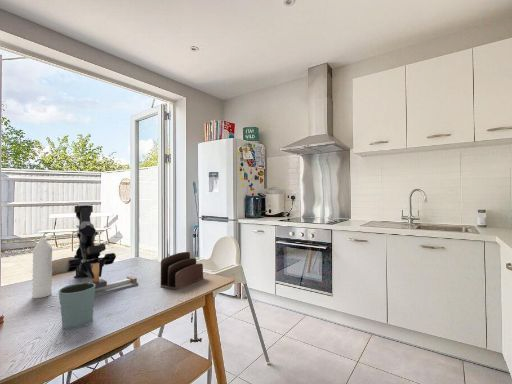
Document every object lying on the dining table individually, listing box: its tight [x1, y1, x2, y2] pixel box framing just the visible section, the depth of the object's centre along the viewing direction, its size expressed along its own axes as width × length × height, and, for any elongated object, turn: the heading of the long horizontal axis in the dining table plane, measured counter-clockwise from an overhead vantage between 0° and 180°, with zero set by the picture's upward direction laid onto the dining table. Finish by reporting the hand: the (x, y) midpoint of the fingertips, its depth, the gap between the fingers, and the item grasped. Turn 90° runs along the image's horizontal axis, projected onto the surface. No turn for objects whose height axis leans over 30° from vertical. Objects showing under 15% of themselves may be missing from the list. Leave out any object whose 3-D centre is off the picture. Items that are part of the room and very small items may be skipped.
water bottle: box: [31, 235, 53, 299], centre depth 113 cm, size 9×6×25 cm
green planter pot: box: [58, 282, 95, 330], centre depth 87 cm, size 10×10×12 cm
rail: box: [94, 275, 139, 298], centre depth 118 cm, size 26×9×3 cm, turn 140°
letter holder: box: [160, 251, 204, 291], centre depth 129 cm, size 10×20×14 cm, turn 153°
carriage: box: [84, 263, 108, 289], centre depth 115 cm, size 7×6×10 cm
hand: (96, 277), depth 114 cm, fingers closed on carriage, 3 cm apart
